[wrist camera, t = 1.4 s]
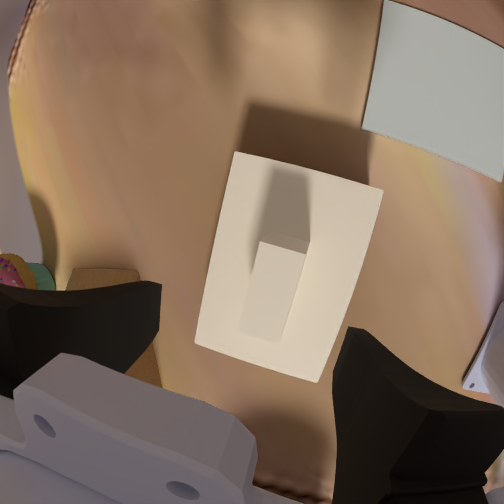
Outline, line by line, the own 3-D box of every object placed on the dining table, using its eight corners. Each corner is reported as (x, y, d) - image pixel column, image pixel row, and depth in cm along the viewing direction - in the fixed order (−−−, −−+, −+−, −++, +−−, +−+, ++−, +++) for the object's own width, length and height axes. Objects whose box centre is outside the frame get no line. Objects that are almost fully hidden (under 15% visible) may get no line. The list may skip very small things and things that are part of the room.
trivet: (509, 55, 14) (512, 53, 14) (498, 182, 17) (501, 182, 16) (383, 2, 16) (384, -1, 16) (361, 129, 19) (361, 127, 18)
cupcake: (67, 333, 29) (-15, 383, 17) (22, 303, 30) (-53, 337, 19) (68, 259, 27) (-34, 294, 15) (21, 235, 28) (-66, 257, 17)
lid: (380, 190, 17) (396, 191, 13) (318, 372, 20) (313, 415, 16) (240, 153, 19) (214, 143, 14) (201, 334, 22) (172, 367, 17)
